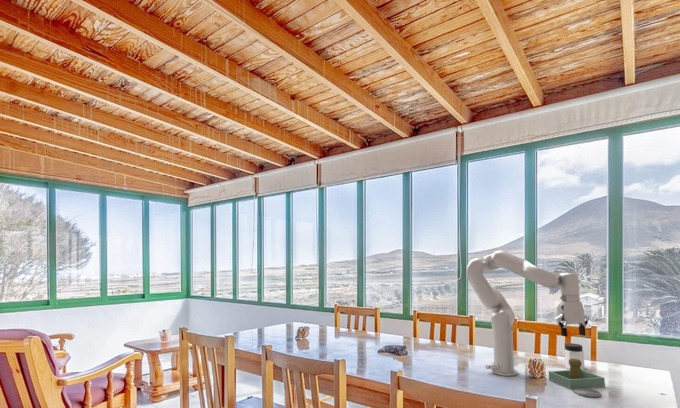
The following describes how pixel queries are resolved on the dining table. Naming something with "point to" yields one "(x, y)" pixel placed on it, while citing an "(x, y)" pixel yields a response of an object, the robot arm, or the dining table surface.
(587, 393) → the mat
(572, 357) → the jar
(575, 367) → the cork
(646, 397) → the dining table surface
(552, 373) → the green tray
